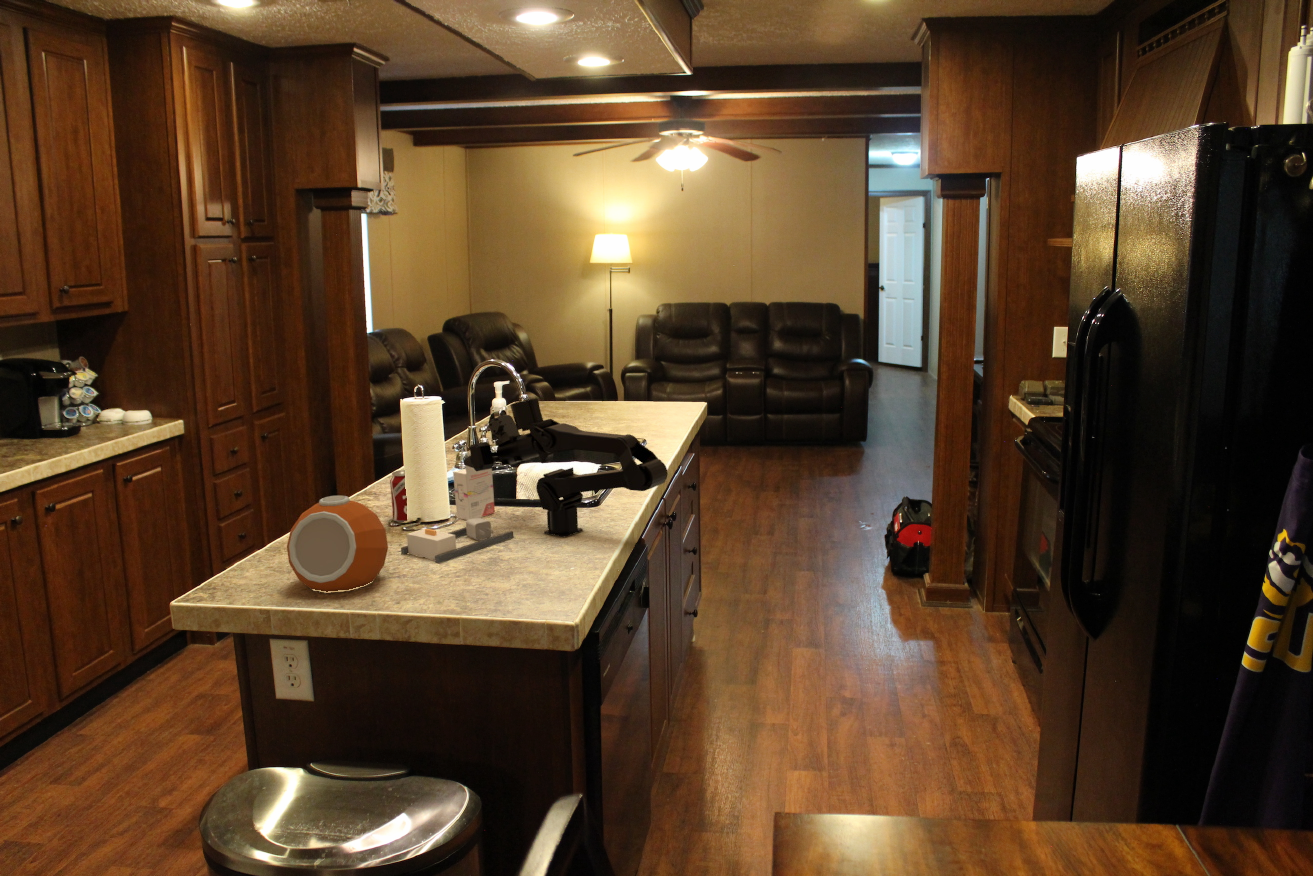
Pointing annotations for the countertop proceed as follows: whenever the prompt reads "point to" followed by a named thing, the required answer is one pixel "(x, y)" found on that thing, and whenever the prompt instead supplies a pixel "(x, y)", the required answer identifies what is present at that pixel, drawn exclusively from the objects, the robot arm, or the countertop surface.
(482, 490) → the ink cartridge box
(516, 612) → the countertop surface
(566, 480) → the robot arm
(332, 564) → the alarm clock
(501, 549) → the countertop surface
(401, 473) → the soda can
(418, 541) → the block
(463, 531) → the gray rail frame
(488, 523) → the usb wall charger
